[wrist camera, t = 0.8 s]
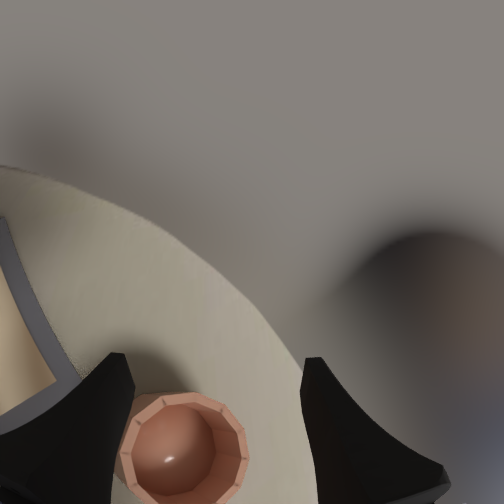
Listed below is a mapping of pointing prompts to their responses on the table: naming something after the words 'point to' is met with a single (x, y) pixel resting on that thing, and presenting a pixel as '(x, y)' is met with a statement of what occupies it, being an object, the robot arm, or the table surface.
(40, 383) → the lid
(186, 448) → the bowl
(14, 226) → the table surface
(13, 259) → the mat
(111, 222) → the table surface
